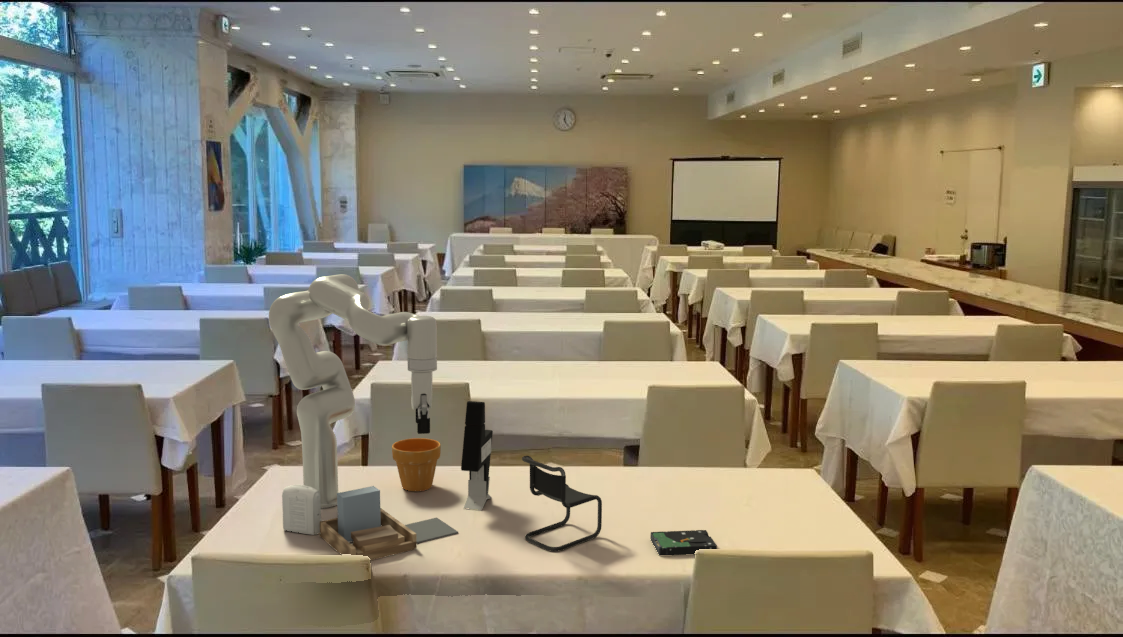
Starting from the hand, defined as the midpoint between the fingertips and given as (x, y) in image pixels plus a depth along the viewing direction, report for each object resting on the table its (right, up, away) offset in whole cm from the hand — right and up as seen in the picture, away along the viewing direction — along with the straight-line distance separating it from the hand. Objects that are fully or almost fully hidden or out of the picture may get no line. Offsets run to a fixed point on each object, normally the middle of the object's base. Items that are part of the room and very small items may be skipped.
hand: (422, 427), depth 243 cm
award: (+12, -24, +21) cm, 34 cm away
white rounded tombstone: (-31, -27, 0) cm, 41 cm away
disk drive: (+67, -30, -7) cm, 74 cm away
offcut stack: (-10, -29, -11) cm, 33 cm away
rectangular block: (-16, -28, -3) cm, 32 cm away
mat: (+1, -27, +1) cm, 27 cm away
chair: (+36, -28, -2) cm, 46 cm away
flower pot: (-7, -22, +34) cm, 41 cm away
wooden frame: (-13, -28, -7) cm, 32 cm away
